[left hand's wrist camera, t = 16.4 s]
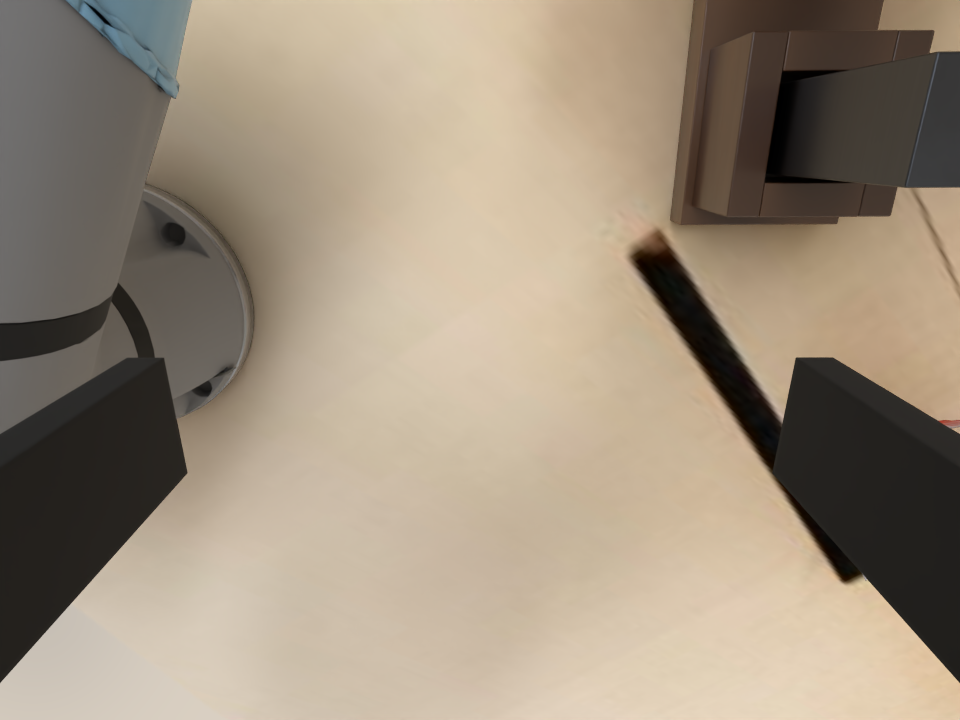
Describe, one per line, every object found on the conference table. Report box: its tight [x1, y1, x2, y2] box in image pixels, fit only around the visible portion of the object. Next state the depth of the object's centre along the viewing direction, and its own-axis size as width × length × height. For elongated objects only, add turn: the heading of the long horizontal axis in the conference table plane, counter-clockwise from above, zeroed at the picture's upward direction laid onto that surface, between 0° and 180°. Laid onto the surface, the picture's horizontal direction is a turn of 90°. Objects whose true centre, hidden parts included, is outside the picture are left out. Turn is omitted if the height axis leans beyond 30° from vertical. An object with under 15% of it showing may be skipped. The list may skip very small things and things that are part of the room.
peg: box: [766, 51, 960, 188], centre depth 25 cm, size 4×4×14 cm
